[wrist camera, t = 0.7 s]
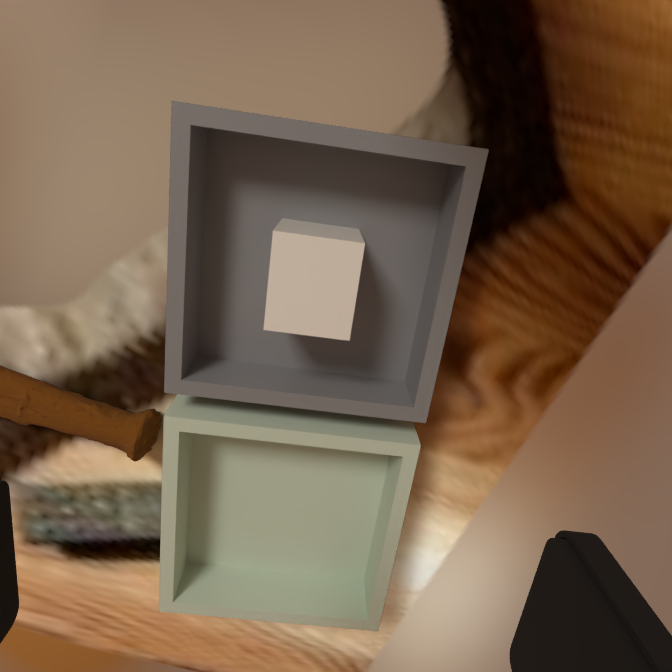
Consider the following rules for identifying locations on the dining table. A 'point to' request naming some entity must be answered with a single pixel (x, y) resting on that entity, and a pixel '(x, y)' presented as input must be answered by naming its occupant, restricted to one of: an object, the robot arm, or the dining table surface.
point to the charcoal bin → (324, 208)
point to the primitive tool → (76, 414)
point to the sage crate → (281, 511)
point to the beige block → (313, 279)
